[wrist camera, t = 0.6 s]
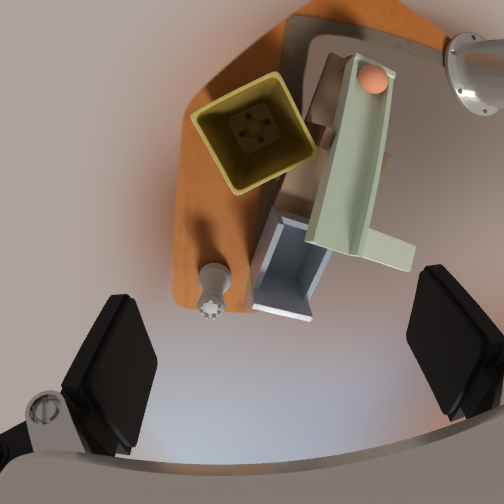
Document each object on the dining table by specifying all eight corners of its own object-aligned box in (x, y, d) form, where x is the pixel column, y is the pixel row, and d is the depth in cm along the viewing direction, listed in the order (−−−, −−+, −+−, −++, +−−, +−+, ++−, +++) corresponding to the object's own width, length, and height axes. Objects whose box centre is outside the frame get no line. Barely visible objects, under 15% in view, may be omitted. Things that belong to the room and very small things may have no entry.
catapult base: (378, 77, 31) (420, 72, 22) (323, 221, 39) (346, 256, 30) (328, 54, 30) (358, 38, 21) (273, 205, 38) (283, 237, 29)
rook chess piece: (233, 287, 43) (232, 324, 36) (201, 290, 43) (195, 327, 36) (229, 259, 41) (227, 293, 34) (196, 262, 42) (187, 296, 34)
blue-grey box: (323, 221, 39) (345, 254, 31) (297, 279, 43) (310, 321, 35) (272, 204, 38) (281, 234, 30) (249, 266, 42) (251, 308, 34)
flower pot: (201, 112, 33) (187, 114, 25) (270, 77, 31) (277, 69, 23) (237, 176, 37) (235, 198, 29) (304, 144, 35) (321, 156, 27)
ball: (381, 78, 26) (396, 69, 23) (376, 101, 27) (391, 94, 24) (356, 65, 26) (369, 55, 23) (350, 89, 26) (363, 80, 23)
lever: (430, 110, 29) (444, 103, 26) (404, 273, 29) (420, 276, 26) (345, 64, 27) (356, 52, 24) (304, 241, 27) (314, 241, 24)
